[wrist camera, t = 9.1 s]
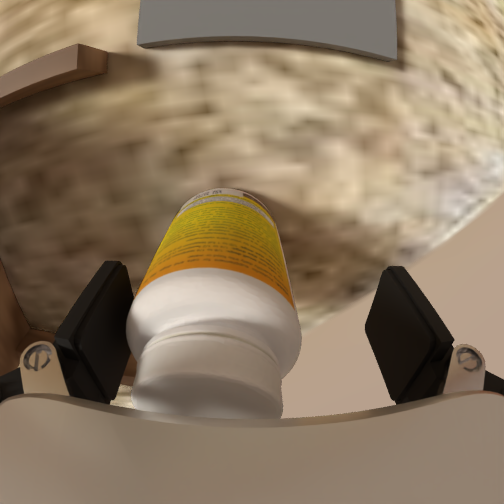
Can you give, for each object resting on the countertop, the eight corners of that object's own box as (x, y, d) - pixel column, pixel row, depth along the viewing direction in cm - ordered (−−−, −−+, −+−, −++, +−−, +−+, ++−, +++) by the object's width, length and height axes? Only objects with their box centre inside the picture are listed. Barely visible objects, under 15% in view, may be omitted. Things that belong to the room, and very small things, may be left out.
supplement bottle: (160, 197, 14) (58, 350, 5) (268, 175, 14) (313, 327, 5) (190, 285, 17) (155, 450, 8) (283, 270, 16) (316, 441, 7)
